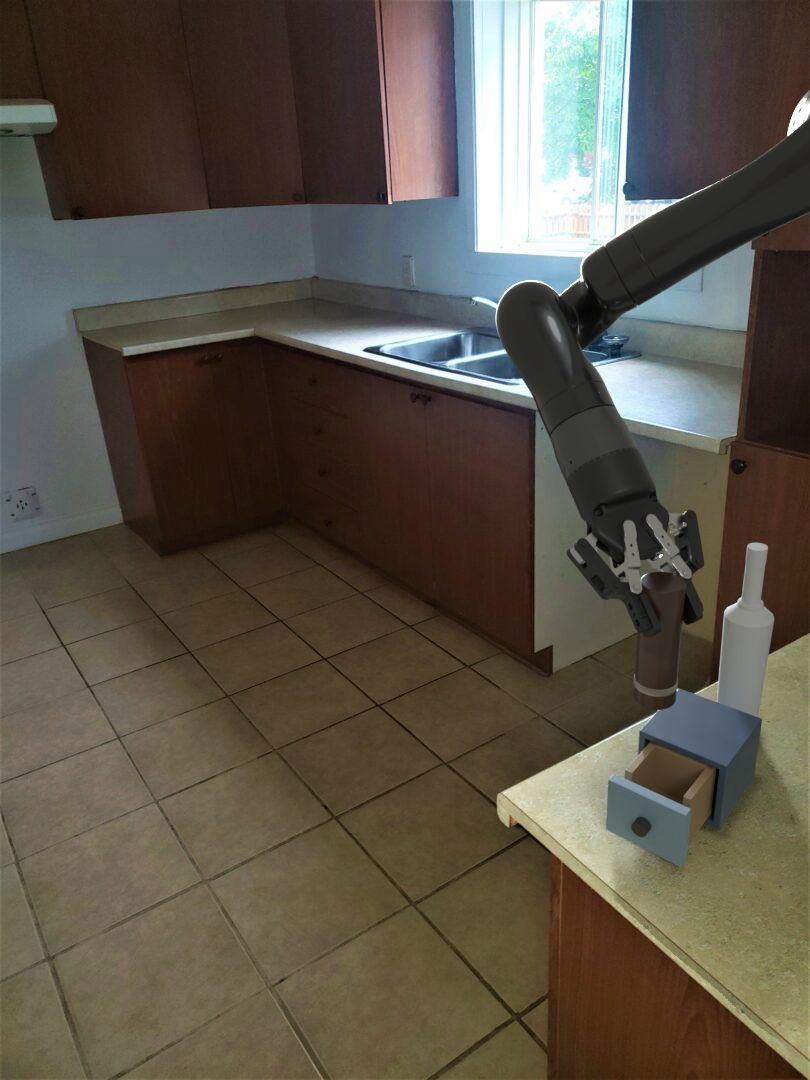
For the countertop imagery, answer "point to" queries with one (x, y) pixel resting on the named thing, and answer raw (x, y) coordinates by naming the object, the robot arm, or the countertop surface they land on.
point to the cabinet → (710, 744)
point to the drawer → (661, 801)
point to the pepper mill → (660, 642)
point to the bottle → (746, 639)
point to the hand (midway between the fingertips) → (674, 627)
